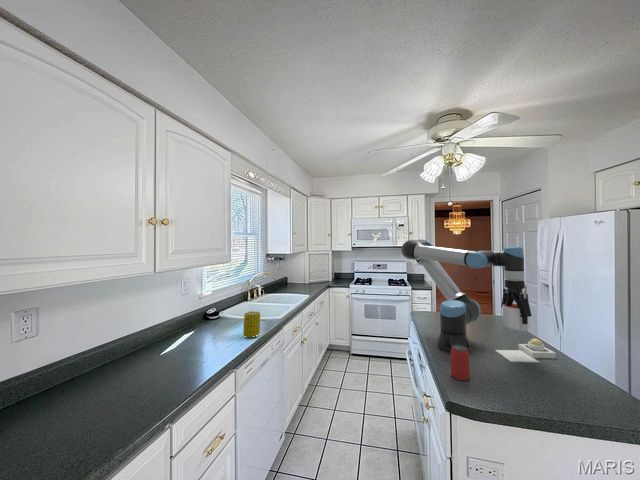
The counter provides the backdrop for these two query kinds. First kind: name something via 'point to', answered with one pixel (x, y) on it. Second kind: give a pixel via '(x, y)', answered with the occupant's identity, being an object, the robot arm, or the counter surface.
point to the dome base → (537, 352)
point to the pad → (516, 356)
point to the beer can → (460, 362)
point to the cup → (512, 317)
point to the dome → (535, 345)
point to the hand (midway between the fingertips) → (515, 326)
